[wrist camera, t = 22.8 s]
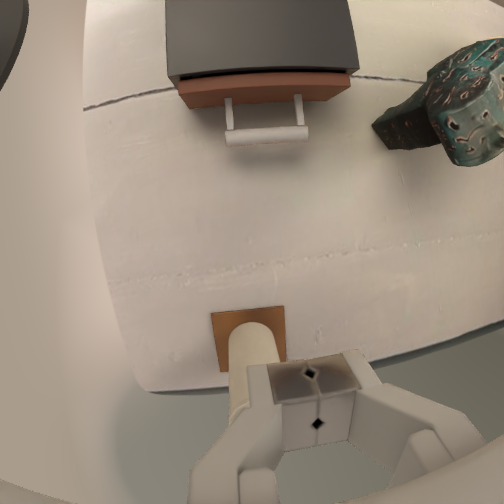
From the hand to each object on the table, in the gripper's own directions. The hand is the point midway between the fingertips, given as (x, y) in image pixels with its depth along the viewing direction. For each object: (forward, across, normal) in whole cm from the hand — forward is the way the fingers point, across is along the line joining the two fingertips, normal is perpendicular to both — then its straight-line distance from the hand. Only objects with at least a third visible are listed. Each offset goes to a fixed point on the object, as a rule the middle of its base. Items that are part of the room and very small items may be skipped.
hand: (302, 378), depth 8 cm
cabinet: (+25, -2, -20) cm, 32 cm away
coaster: (+25, +1, +14) cm, 29 cm away
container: (+24, +1, +14) cm, 28 cm away
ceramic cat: (+25, -21, -13) cm, 35 cm away
